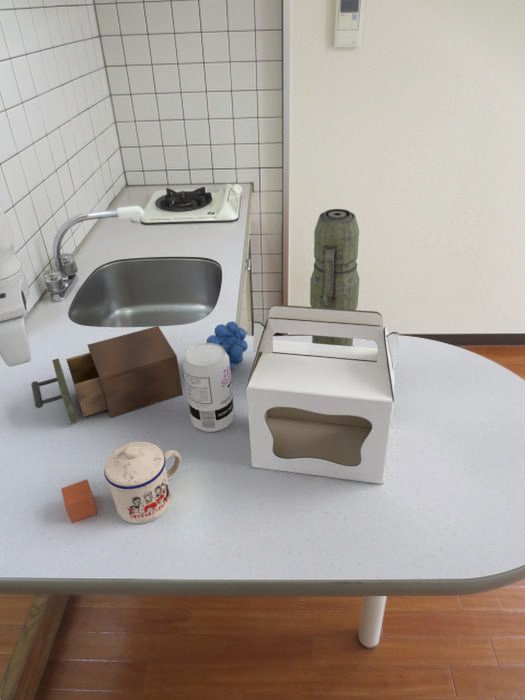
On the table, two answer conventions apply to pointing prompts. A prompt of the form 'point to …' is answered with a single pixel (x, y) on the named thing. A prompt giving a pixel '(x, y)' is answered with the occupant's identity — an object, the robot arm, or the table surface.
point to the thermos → (335, 267)
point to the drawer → (84, 385)
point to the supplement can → (208, 386)
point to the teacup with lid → (140, 480)
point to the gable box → (322, 394)
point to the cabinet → (136, 370)
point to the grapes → (230, 341)
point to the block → (79, 501)
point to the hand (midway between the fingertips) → (22, 359)
